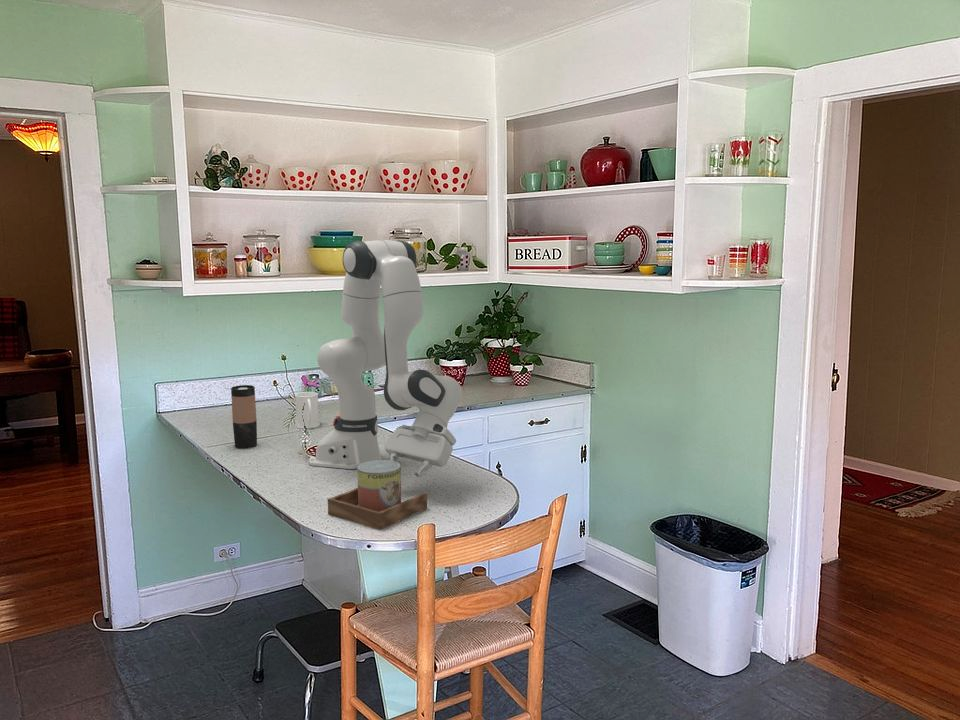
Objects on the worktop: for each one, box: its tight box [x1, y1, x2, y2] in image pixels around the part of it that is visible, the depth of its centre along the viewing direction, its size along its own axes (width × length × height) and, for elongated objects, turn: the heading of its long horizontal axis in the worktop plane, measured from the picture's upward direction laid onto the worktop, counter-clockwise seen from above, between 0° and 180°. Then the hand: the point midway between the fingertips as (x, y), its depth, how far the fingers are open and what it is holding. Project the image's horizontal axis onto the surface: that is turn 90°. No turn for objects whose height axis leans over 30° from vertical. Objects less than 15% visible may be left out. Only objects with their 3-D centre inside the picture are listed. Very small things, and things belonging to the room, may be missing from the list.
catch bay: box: [327, 487, 428, 530], centre depth 207 cm, size 18×18×4 cm
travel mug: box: [230, 384, 258, 450], centre depth 267 cm, size 8×8×20 cm
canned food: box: [356, 459, 402, 512], centre depth 207 cm, size 11×11×12 cm
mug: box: [294, 391, 321, 430], centre depth 292 cm, size 12×8×12 cm
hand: (404, 472), depth 215 cm, fingers open, 8 cm apart
